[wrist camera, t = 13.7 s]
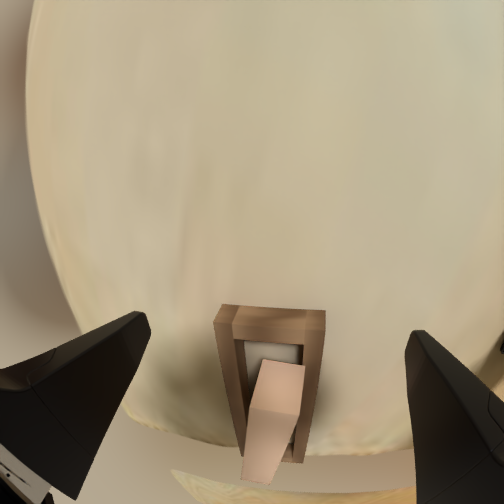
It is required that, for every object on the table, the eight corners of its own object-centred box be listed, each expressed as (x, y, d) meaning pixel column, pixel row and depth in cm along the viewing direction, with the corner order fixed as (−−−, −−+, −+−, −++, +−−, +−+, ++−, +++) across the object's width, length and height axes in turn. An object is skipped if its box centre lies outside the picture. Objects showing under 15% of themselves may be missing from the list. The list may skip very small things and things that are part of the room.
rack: (325, 310, 22) (325, 330, 20) (304, 448, 32) (302, 463, 30) (222, 304, 24) (213, 322, 21) (245, 442, 34) (241, 456, 32)
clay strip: (305, 365, 21) (299, 415, 17) (276, 452, 29) (269, 484, 25) (262, 358, 22) (249, 407, 18) (249, 447, 30) (240, 479, 25)
